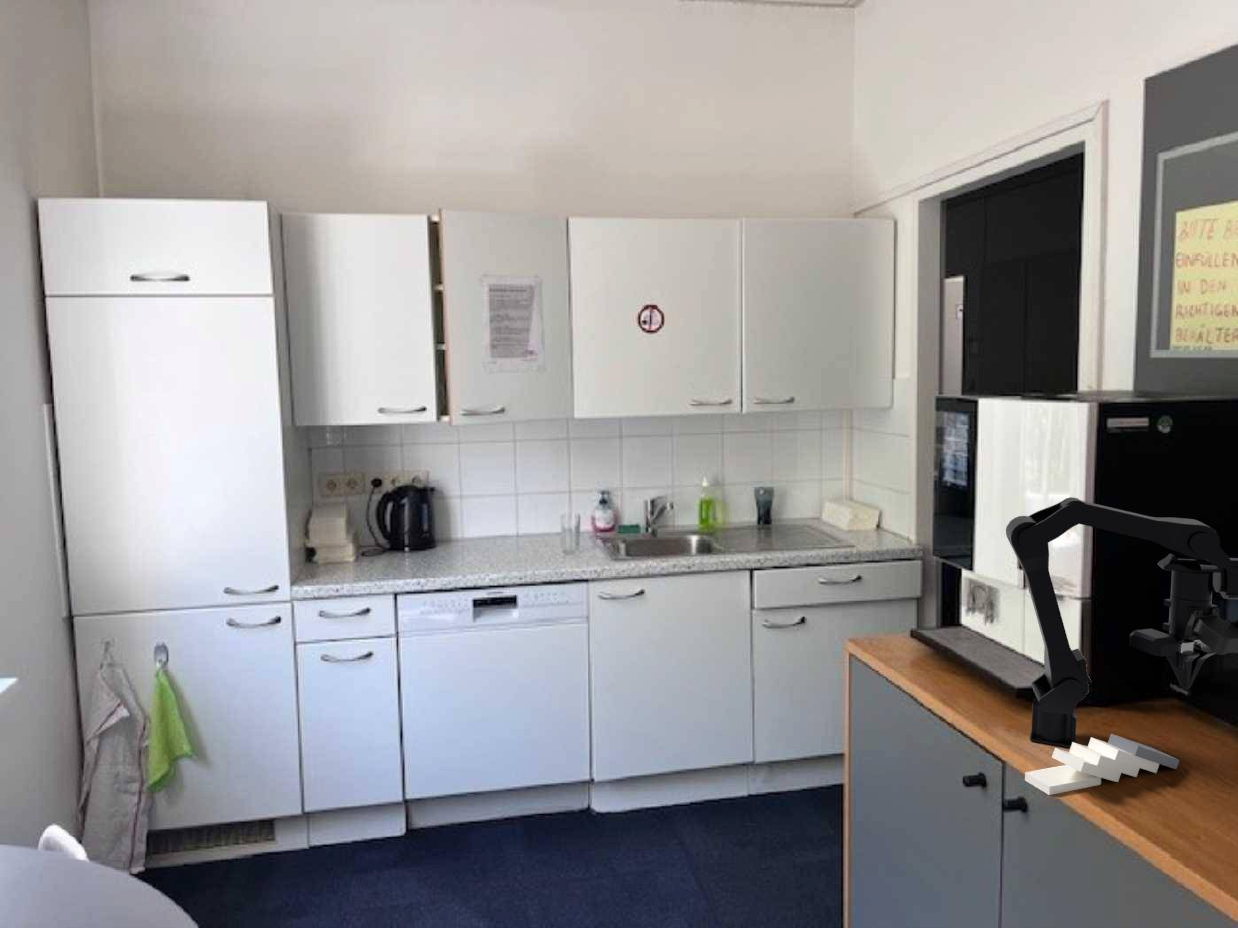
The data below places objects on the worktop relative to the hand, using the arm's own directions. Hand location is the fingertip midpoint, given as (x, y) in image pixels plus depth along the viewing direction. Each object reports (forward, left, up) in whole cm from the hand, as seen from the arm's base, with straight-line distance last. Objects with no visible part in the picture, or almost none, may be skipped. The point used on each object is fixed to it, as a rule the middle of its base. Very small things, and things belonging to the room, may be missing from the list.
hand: (1185, 687), depth 146 cm
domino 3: (-9, -12, -10) cm, 18 cm away
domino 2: (-11, -16, -10) cm, 22 cm away
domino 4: (-6, -9, -10) cm, 15 cm away
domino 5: (-3, -6, -10) cm, 12 cm away
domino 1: (-14, -18, -11) cm, 25 cm away
